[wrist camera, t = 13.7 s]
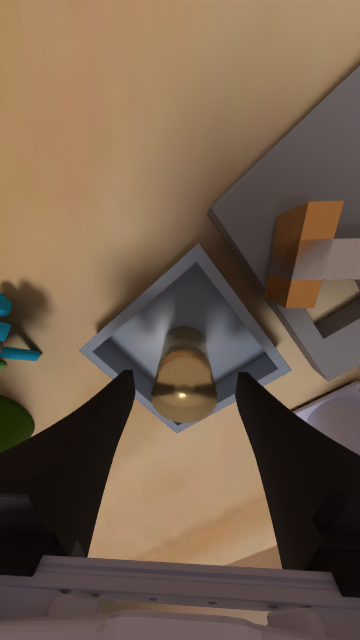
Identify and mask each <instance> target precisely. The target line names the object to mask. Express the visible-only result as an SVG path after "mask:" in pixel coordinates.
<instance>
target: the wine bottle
mask: <svg viewBox="0 0 360 640" xmlns="http://www.w3.org/2000/svg"><path fill="white" fill-rule="evenodd" d="M33 430H34V424H33V421H32V419H31V416H30V415H29V414H28V413H27V411H26V410H25V409H24V408H22V407H21V406H20V405H19V404H17V403H15V402H14V401H12V400H10V399H8V398H6V397H3V396H0V453H1V452H3V451H5V450H7V449H9V448H11V447H13V446H15V445H18V444H19V443H21V442H23V441H25V440H27V439H29V438H30V437H31V435H32V433H33Z"/></svg>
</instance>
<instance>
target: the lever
mask: <svg viewBox="0 0 360 640" xmlns="http://www.w3.org/2000/svg"><path fill="white" fill-rule="evenodd" d="M343 203H344V201H316V202H307V203H305V204H302V205H300V206H298V207H295V208H293V209H291V210H289V211H286V212H284V213H282V214H279V215H278V219H277V225H276V231H275V237H274V243H273V249H272V255H271V261H270V267H269V273H268V279H267V285H266V291H265V298H267V299H269V300H271V301H273V302H274V303H276V304H278V305H280V306H282V307H284V308H314V306H315V303H316V299H317V296H318V292H319V289H320V285H321V281H322V280H351V279H360V238H351V239H334V235H335V232H336V228H337V225H338V221H339V218H340V214H341V211H342V207H343Z"/></svg>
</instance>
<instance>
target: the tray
mask: <svg viewBox="0 0 360 640" xmlns="http://www.w3.org/2000/svg"><path fill="white" fill-rule="evenodd" d="M181 326H189V327H192V328H195V329H197V330H198V331H199V332H200V333H201V334H202V335H203V337H204V339H205V343H206V347H207V352H208V356H209V360H210V365H211V369H212V373H213V378H214V382H215V387H216V391H217V396H218V400H217V404H216V407H215V409H214V410H213V411H212V413H211V414H210V415H212V414H213V413H215V412H217V411H219V410H221V409H223V408H224V407H226V406H228V405H230V404H232V403H233V402H235V401H236V398H235V391H236V385H237V378H238V372H248V373H249V374H250V375H251V376H252V377H253V378H254V379H255V380H256V381H258V382H259V383H260V384H261V385H262V386H264V385H266V384H268V383H270V382H272V381H273V380H275V379H277V378H279V377H281V376H283V375H284V374H286V373H288V372H290V371H292V369H291V368H290V367H289V365H288V364H287V363H286V361H285V360H284V359H283V357H282V356H281V354H280V353H279V352H278V350H277V349H276V348H275V346H274V345H273V344H272V342H271V341H270V340H269V338H268V337H267V335H266V334H265V333H264V331H263V330H262V329H261V327H260V326H259V325H258V323H257V322H256V321H255V319H254V318H253V316H252V315H251V314H250V312H249V311H248V310H247V308H246V307H245V306H244V304H243V303H242V302H241V300H240V299H239V297H238V296H237V295H236V293H235V292H234V291H233V289H232V288H231V287H230V285H229V284H228V282H227V281H226V280H225V278H224V277H223V276H222V274H221V273H220V272H219V270H218V269H217V268H216V266H215V265H214V263H213V262H212V261H211V259H210V258H209V257H208V255H207V254H206V253H205V251H204V250H203V249H202V247H201V246H200V244H199V243H198V244H197V245H196V246H195V247H194V248H192V249H191V250H190V251H189V252H188V253H187V254H186V255H185V256H184V257H182V258H181V259H180V260H179V261H178V262H177V263H176V264H175V265H173V266H172V267H171V268H170V269H169V270H168V271H167V272H166V273H165V274H163V275H162V276H161V277H160V278H159V279H158V280H157V281H156V282H155V283H153V284H152V285H151V286H150V287H149V288H148V289H147V290H146V291H144V292H143V293H142V294H141V295H140V296H139V297H138V298H137V299H136V300H134V301H133V302H132V303H131V304H130V305H129V306H128V307H127V308H126V309H124V310H123V311H122V312H121V313H120V314H119V315H118V316H117V317H115V318H114V319H113V320H112V321H111V322H110V323H109V324H108V325H107V326H105V327H104V328H103V329H102V330H101V331H100V332H99V333H98V334H97V335H95V336H94V337H93V338H92V339H91V340H90V341H89V342H88V343H87V344H85V345H84V346H83V347H82V348H81V349H80V350H79V351H80V352H81V353H82V354H83V355H84V356H86V357H87V358H88V359H89V360H90V361H92V362H93V363H94V364H95V365H96V366H97V367H99V368H100V369H101V370H102V371H103V372H105V373H106V374H107V375H108V376H109V377H110V378H112V379H114V378H115V377H117V376H118V375H119V374H120V373H121V372H122V371H123V370H133V375H134V383H135V391H136V394H135V399H137V400H138V401H139V402H140V403H141V404H142V405H144V406H145V407H146V408H147V409H148V410H150V411H151V412H152V413H153V414H154V415H155V416H157V417H158V418H159V419H160V420H161V421H163V422H164V423H165V424H166V425H167V426H168V427H170V428H171V429H172V430H173V431H174V432H176V433H179V432H181V431H183V430H184V429H186V428H188V427H190V426H192V425H193V424H195V423H197V422H199V421H201V420H199V421H196V422H191V423H179V422H174V421H171V420H168V419H166V418H164V417H163V416H161V415H160V414H159V413H158V412H157V411H156V410H155V408H154V407H153V404H152V401H151V392H152V388H153V384H154V380H155V376H156V372H157V368H158V364H159V360H160V356H161V352H162V348H163V344H164V340H165V337H166V336H167V334H168V333H169V332H170V331H171V330H173V329H174V328H177V327H181ZM210 415H208V416H210ZM208 416H207V417H208ZM205 418H206V417H205ZM202 420H203V419H202Z"/></svg>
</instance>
